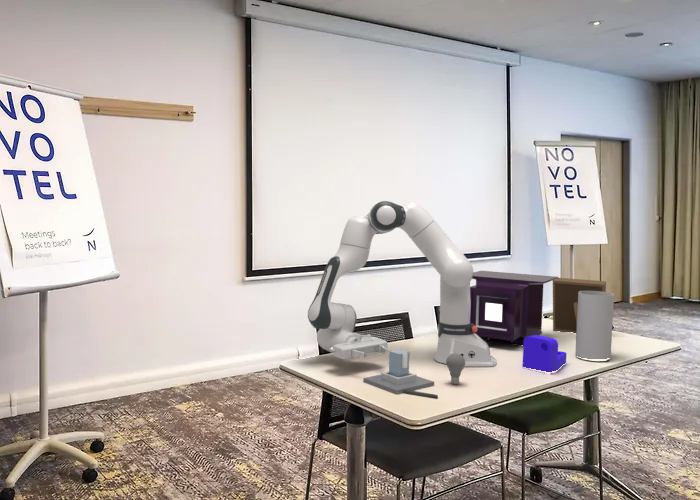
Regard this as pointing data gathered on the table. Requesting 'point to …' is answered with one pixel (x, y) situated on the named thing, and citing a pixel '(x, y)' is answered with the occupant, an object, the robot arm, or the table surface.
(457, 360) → the light bulb
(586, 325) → the cylinder vase
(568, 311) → the photo frame
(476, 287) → the dark purple stove
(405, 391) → the rod
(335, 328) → the robot arm
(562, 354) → the bracket
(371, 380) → the board
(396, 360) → the plug block
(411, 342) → the table surface
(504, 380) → the table surface
